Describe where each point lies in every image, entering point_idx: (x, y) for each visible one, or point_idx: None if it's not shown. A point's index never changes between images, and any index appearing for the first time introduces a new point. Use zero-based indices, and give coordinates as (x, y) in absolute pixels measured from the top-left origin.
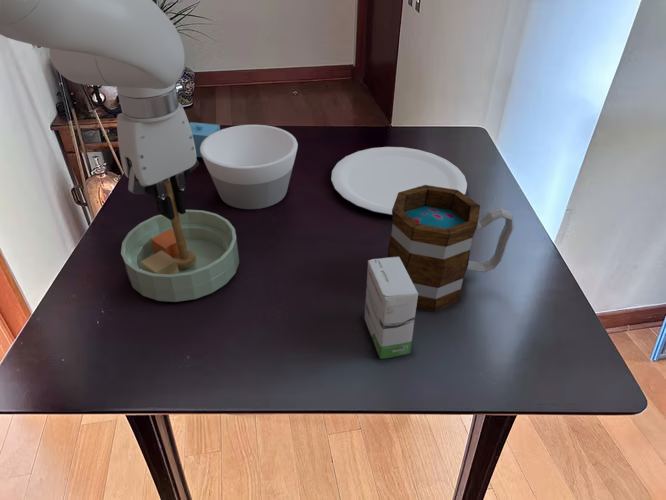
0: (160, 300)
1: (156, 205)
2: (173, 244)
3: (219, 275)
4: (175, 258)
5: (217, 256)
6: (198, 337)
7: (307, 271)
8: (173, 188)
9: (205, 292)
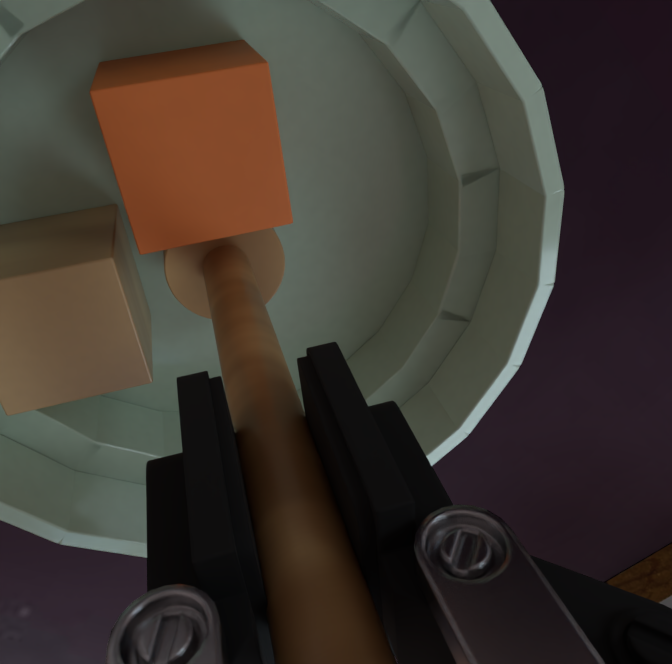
0: None
1: (148, 513)
2: (203, 239)
3: None
4: (178, 251)
5: (373, 266)
6: (86, 564)
7: (537, 467)
8: (390, 622)
9: None
